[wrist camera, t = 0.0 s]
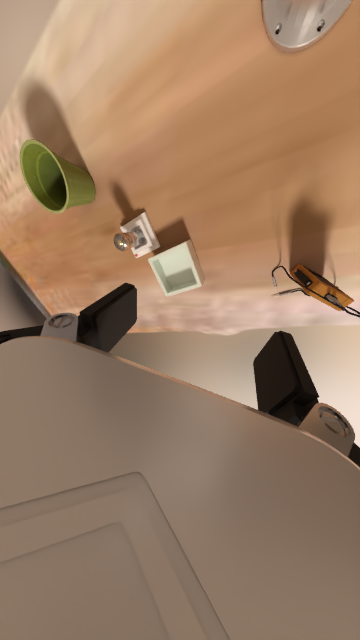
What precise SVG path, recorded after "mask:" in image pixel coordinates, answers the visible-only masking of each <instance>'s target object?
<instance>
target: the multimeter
mask: <svg viewBox="0 0 360 640" xmlns="http://www.w3.org/2000/svg"><path fill="white" fill-rule="evenodd" d="M279 267H282V268H283V269H284V270H285V272H286V273H287V275H288V277H289V278H291V279H292V280H293V281H295V282H296V283H298V284H299V285H300V286H301V287H302V288H303V289H304V291H305V292H306V293H307V294H308V295H307V294H306V293H305V292H304V291H302V290H295V291H302V292H303V293H304V294H305V295H307V296H312V297H314V298H316V299H318V300H319V301H321V302H323V303H325V304H327V305H329V306H330V307H332V308H334V309H336V310H338V311H341V310H343V311H346V312H347V313H349V314H351V315H354V316H357V317H360V312H358V311H356V310H355V309H353V308H351V307H348V305H349V304H351V303H352V302H353V301H354V300H353V299H352V298H350V297H349V296H348V295H346V294H345V293H344V292H343V291H341V290H340V289H339V288H338V287H337V286H335V285H333V284H332V283H331V282H329V281H328V280H327V279H325V278H324V277H322V276H321V275H319V274H317V273H315V272H313V271H312V270H310V269H308V268H306V267H304V266H302V265H300V264H298V265H297V266H296V267H295V268H294V269H293V270H292V271H291V272H290V274H291V275H292V277H293V278H294V279H295V280H294V279H293V278H292V277H291V276H290V275H289V274H288V272H287V271H286V269H285V268H284V267H283V266H279ZM279 267H277V268H279ZM277 268H276V269H277ZM276 269H274V270H273V272H274V271H275V270H276ZM273 272H272V278H273V282H274V286H275V287H276V286H277V285H276V281H275V278H274V276H273ZM276 290H277V287H276ZM295 291H292V292H295ZM277 292H278V291H277ZM292 292H286V293H282V294H279V295H280V296H281V295H285V294H289V293H292ZM279 295H276V296H279ZM273 297H275V296H273ZM345 307H347V308H349V309H351V310H353V311H355V312H357V313H358V314H359V315H357V314H354V313H351V312H349V311H348V310H346V309H345Z"/></svg>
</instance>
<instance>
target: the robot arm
mask: <svg viewBox="0 0 360 640" xmlns="http://www.w3.org/2000/svg"><path fill="white" fill-rule="evenodd" d="M351 2H352V0H262V14H263V22H264V26H265V30H266V33H267V35H268V37H269V39H270V41H271V42H272V44H273V45H274V46H275V47H276V48H278V49H280V50H281V51H284V52H296V51H301V50H303V49H305V48H307V47H309V46H311V45H312V44H314V43H315V42H316V41H318V40H319V39H321V38H322V37H323V36H324V35H325V34H326V33H327V32H328V31H329V30H330V29H331V28H332V27H333V26H334V25H335V23H336V22H337V21H338V20H339V19H340V17H341V16H342V15H343V14H344V12H345V11H346V9H347V8H348V6H349V5H350V3H351ZM317 29H320V32H318V31H317ZM276 32H279V34H277V35H276V34H275V33H276ZM136 320H137V289H136V288H135V286H134V285H132V284H128V283H124V284H123V285H121V286H120V287H118V288H116V289H115V290H113V291H112V292H110V293H109V294H107V295H105V296H104V297H102V298H101V299H99V300H98V301H96V302H95V303H93V304H91V305H90V306H88V307H87V308H85V309H84V310H82V311H80V315H79V316H78V317H77V316H76V315H75V314H72V313H60V314H56V315H53V316H51V317H49V318H48V319H47V320H46V321H45V323H44V325H42V326H36V327H29V328H22V329H15V330H8V331H3V332H0V640H360V448H359V447H358V446H357V445H356V444H355V443H354V440H355V433H354V430H353V428H352V426H351V425H350V423H349V422H348V421H347V419H346V418H345V417H344V416H343V415H342V414H341V413H340V412H338V411H337V410H336V409H334V408H333V407H331V406H329V405H327V404H324V403H319V402H318V399H317V398H318V397H319V395H318V393H317V391H316V388H315V386H314V384H313V382H312V379H311V377H310V375H309V373H308V370H307V369H306V366H305V364H304V361H303V359H302V357H301V355H300V353H299V350H298V348H297V346H296V344H295V341H294V339H293V337H292V335H291V334H289V333H286V332H283V331H279V332H275V333H274V334H273V335H272V337H271V338H270V340H269V341H268V342H267V343H266V345H265V346H264V347H263V349H262V350H261V351H260V353H259V354H258V355H257V357H256V358H255V360H254V363H253V365H254V374H255V383H256V393H257V402H258V410H256V409H254V408H251V407H249V406H246V405H244V404H241V403H238V402H236V401H233V400H231V399H228V398H226V397H223V396H220V395H218V394H215V393H213V392H210V391H207V390H205V389H202V388H200V387H197V386H195V385H192V384H189V383H187V382H184V381H181V380H179V379H176V378H174V377H171V376H168V375H166V374H163V373H160V372H158V371H155V370H152V369H150V368H147V367H145V366H142V365H139V364H137V363H134V362H131V361H129V360H126V359H123V358H121V357H118V356H115V355H113V354H110V353H108V352H109V351H110V350H111V349H112V348H113V347H114V346H115V345H116V344H117V342H118V341H119V340H120V339H121V338H122V337H123V336H124V335H125V334H126V333H127V331H128V330H129V329H130V328H131V327H132V326H133V325H134V324H135V322H136Z"/></svg>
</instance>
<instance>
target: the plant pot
mask: <svg viewBox="0 0 360 640" xmlns="http://www.w3.org/2000/svg"><path fill="white" fill-rule="evenodd" d="M20 165H21V170H22V174H23V177H24V180H25V182H26V184H27V186H28V188H29V190H30V192H31V193H32V195H33V196H34V198H35V199H36V200H37V201H38V202H39V204H41V205H42V206H43V207H44V208H45V209H47V210H48V211H50V212H53V213H61V212H63V211H64V210H65V209H68V208H70V207H74V206H79V205H84V204H89V203H91V202H92V201H93V200H94V199H95V193H96V192H95V185H94V182H93V180H92V179H91V177H90V176H89V174H88V173H87V172H86V171H85V170H83V169H81V168H79V167H77V166H76V165H74V164H72V163H70V162H68V161H66V160H64V159H62V158H61V157H59V156H58V155H56V154H55V153H53V152H52V151H50V149H49V148H48V147H46V146H45V145H44V144H42V143H41V142H39V141H37V140H27V141H26V142H24V144H23V145H22V147H21V151H20Z"/></svg>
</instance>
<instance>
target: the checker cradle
mask: <svg viewBox="0 0 360 640" xmlns="http://www.w3.org/2000/svg"><path fill="white" fill-rule="evenodd" d="M120 228H121V230H122V232H123V233H126V232H131V231H137V230H140V231H142V232H143V234H144V236H145V238H146V240H145V242H144V243H143V244H141V245H138V246H135V247H132V248H131V249H132V251H133V253H134V255H135V257H136V258H138V257H140V256H142V255H144V254H146V253H148V252H150V251H153V250H155V249H157V248H159V247H161V246H160V243H159V241H158V239H157V236H156V234H155V232H154V229H153V227H152V225H151V223H150V220H149V218H148V216H147V213H146V212H144V213H142V214H141V215H139V216H138V217H136V218H134V219H133V220H131V221H130V222H128V223H127V224H125V225H124V226H122V227H120Z"/></svg>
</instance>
